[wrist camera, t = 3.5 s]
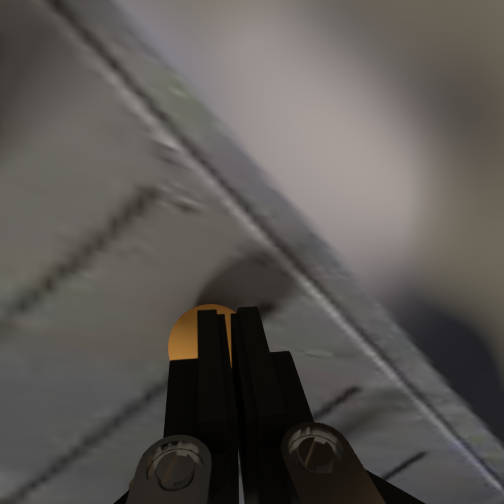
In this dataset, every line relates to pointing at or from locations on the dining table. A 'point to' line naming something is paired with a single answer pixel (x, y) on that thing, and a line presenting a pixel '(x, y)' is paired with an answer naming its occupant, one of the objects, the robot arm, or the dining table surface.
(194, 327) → the ball
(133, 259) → the dining table surface
